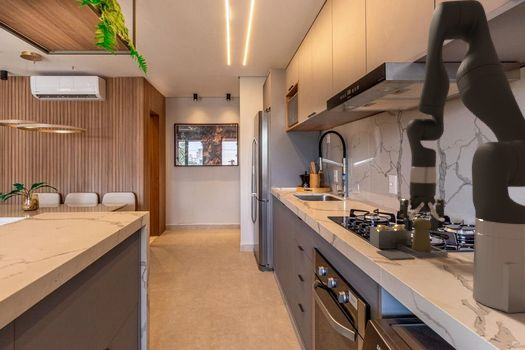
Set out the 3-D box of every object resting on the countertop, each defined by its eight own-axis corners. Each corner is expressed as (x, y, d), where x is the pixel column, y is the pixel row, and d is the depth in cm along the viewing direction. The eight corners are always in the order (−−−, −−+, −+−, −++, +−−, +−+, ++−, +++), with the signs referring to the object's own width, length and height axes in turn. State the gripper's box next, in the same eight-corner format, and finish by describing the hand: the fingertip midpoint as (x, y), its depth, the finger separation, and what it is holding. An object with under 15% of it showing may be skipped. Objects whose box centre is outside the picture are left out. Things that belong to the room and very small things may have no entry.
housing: (447, 256, 95) (448, 237, 95) (397, 258, 92) (398, 239, 92) (412, 242, 112) (412, 226, 112) (369, 243, 109) (370, 227, 109)
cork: (406, 251, 100) (407, 218, 100) (418, 248, 103) (419, 216, 103) (423, 256, 95) (424, 221, 95) (436, 253, 98) (436, 219, 97)
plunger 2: (405, 240, 106) (405, 226, 106) (397, 240, 106) (397, 226, 106) (400, 238, 109) (400, 224, 109) (392, 238, 109) (392, 224, 109)
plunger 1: (387, 240, 105) (388, 226, 105) (379, 241, 105) (380, 226, 105) (383, 238, 108) (383, 224, 108) (375, 239, 108) (375, 225, 108)
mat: (414, 258, 92) (414, 257, 92) (390, 259, 91) (390, 258, 91) (399, 251, 100) (399, 250, 100) (376, 252, 99) (376, 250, 99)
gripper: (409, 182, 94) (408, 234, 94) (451, 181, 96) (449, 232, 97) (395, 180, 101) (394, 228, 102) (434, 180, 103) (432, 227, 104)
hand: (421, 230), depth 99 cm, fingers open, 8 cm apart
